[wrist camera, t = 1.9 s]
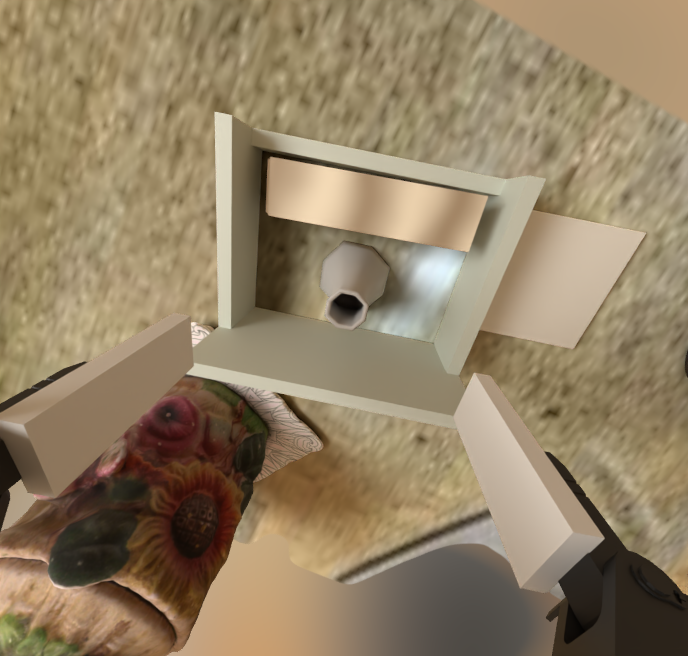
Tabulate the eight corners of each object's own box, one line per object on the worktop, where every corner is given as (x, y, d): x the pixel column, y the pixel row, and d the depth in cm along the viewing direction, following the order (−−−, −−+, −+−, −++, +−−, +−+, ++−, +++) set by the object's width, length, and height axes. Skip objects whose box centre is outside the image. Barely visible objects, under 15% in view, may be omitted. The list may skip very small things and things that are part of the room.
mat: (638, 232, 25) (646, 232, 24) (568, 345, 30) (573, 349, 29) (519, 207, 25) (523, 207, 24) (469, 325, 30) (472, 328, 29)
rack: (506, 184, 24) (617, 169, 13) (440, 354, 32) (476, 433, 21) (249, 132, 24) (151, 74, 13) (244, 314, 32) (179, 372, 21)
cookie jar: (218, 495, 47) (-26, 969, 18) (95, 399, 40) (-634, 924, 11) (331, 440, 39) (220, 1117, 10) (203, 308, 32) (-1340, 1293, 3)
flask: (340, 227, 27) (325, 239, 18) (402, 264, 28) (417, 293, 19) (308, 288, 30) (282, 326, 21) (365, 320, 31) (363, 369, 22)
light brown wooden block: (462, 197, 25) (488, 196, 20) (448, 242, 27) (468, 252, 21) (282, 164, 25) (258, 154, 20) (279, 211, 27) (256, 213, 22)
